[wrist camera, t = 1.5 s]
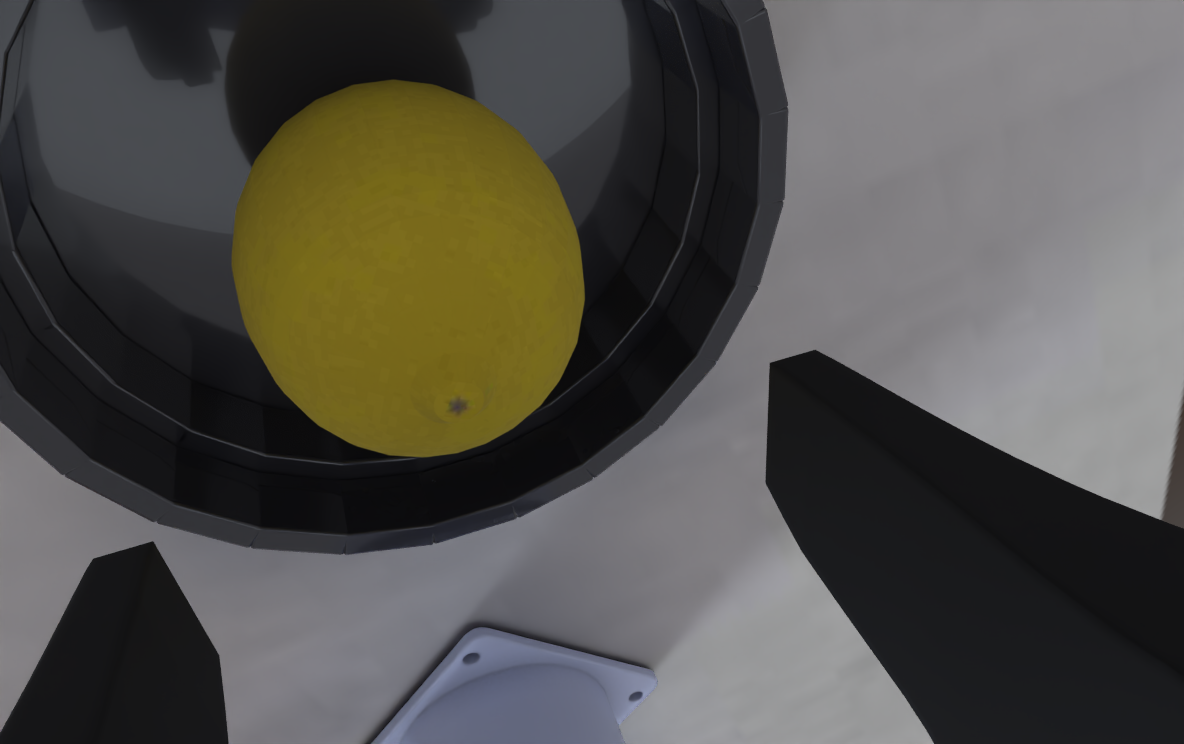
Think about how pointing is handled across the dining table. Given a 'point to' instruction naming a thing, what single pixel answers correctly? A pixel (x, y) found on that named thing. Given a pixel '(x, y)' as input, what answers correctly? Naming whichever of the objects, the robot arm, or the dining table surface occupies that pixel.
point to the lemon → (407, 269)
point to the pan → (206, 226)
